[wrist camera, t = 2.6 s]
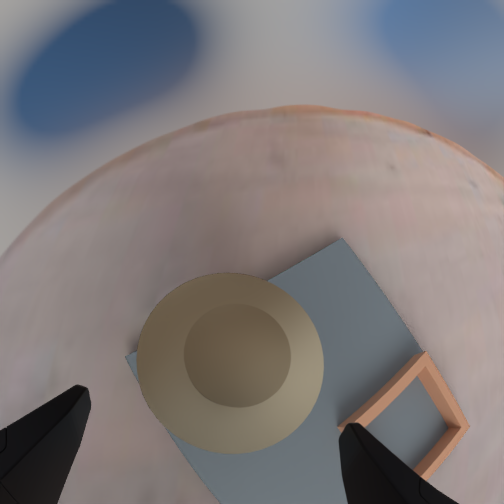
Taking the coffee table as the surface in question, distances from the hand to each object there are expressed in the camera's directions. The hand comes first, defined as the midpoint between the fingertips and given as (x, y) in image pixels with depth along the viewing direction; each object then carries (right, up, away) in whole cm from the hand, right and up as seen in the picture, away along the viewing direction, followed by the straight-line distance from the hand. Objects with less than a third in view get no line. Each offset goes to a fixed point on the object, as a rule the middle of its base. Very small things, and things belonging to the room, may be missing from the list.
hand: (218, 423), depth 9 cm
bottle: (-1, -2, +8) cm, 9 cm away
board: (+6, -5, +9) cm, 12 cm away
